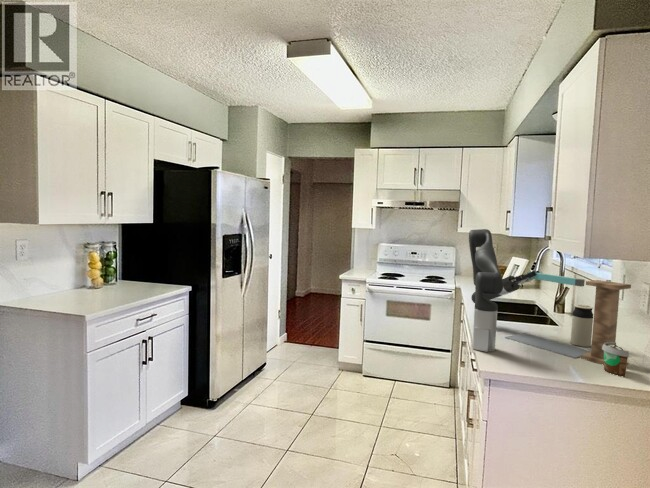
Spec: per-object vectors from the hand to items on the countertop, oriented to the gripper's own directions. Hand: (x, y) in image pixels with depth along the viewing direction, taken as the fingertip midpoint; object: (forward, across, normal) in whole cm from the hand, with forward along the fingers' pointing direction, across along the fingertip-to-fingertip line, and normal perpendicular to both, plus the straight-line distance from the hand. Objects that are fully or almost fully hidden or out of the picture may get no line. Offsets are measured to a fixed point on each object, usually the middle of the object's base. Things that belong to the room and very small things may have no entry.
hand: (537, 272), depth 189 cm
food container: (+17, +12, -46) cm, 51 cm away
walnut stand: (+10, +1, -43) cm, 44 cm away
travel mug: (-4, -14, -35) cm, 38 cm away
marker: (+5, 0, -6) cm, 8 cm away
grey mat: (-9, +1, -32) cm, 33 cm away
